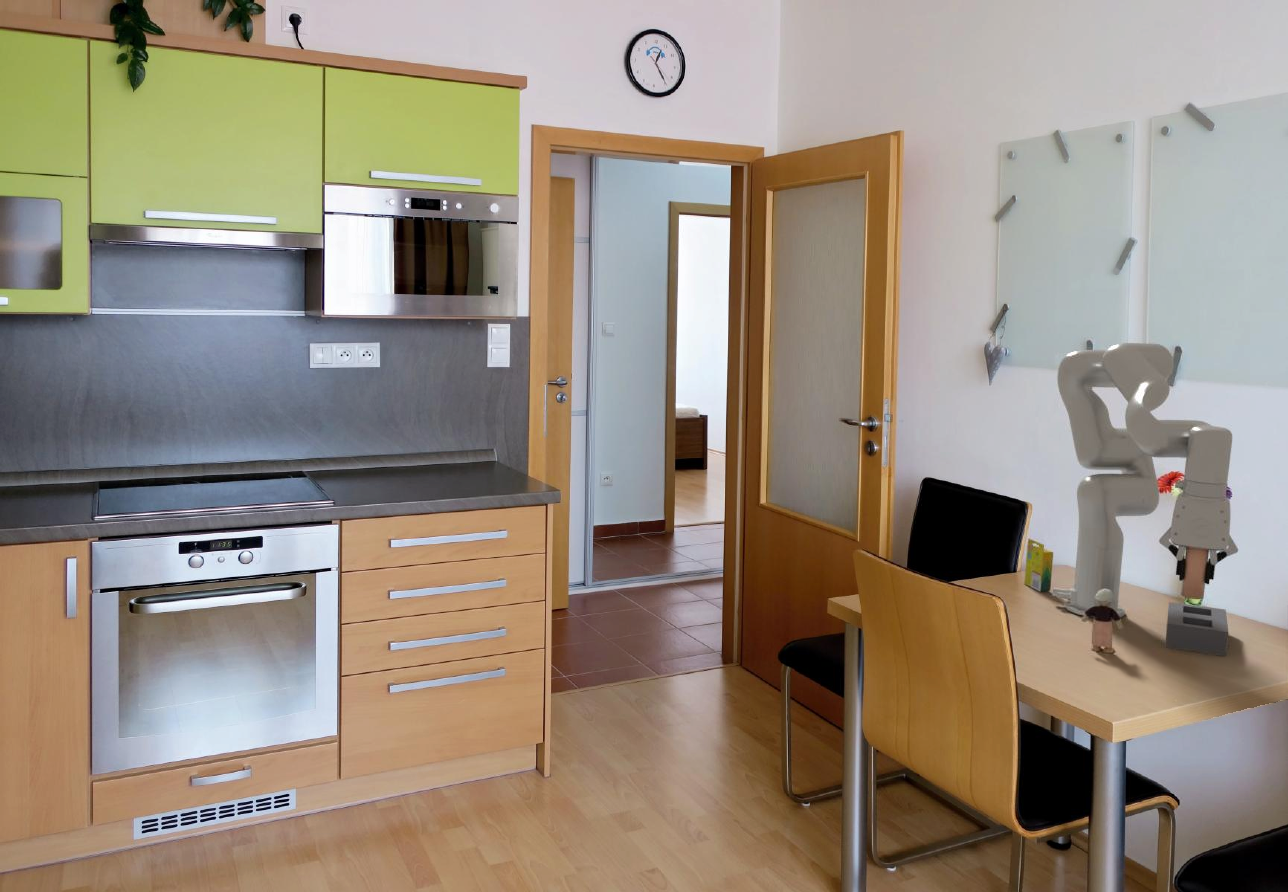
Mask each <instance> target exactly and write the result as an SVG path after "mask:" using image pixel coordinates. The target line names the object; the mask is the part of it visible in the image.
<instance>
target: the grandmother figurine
mask: <svg viewBox="0 0 1288 892" xmlns="http://www.w3.org/2000/svg"><path fill="white" fill-rule="evenodd" d="M1095 597H1096V598H1095V599H1096V600H1097V601H1098V603H1099V604H1100V605H1101V606H1093V607H1091V608H1089V609H1088V610H1087V611H1085V614H1084V616H1083V615H1082V617H1081V621H1082V623H1086V622H1087V621H1088V619H1089V618H1093V621H1092V629H1091V645H1090V649H1091V651H1092V652H1093V651H1094V652H1101V650H1102V652H1103V653H1106V654H1110V653H1111V654H1113V653H1114V652H1115V648H1114V646H1113V634H1114V633H1113V630H1114V629H1113V622H1112V620H1113V621H1114V622H1115V624H1116V627H1117V629H1119V630H1122V629H1124V628H1123V627H1124V625H1123V624H1122V619H1121V618H1122V617H1119V615H1118V614H1117V612H1116V611H1115V610H1114V609H1112V608H1110V607H1107V606H1109V605H1110V604H1111V602H1112V599H1113V593H1112V591H1111V590H1109V589H1102V590H1100V591H1098V593H1097V594H1096V596H1095ZM1094 617H1095V618H1094ZM1102 647H1104V649H1102Z"/></svg>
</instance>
